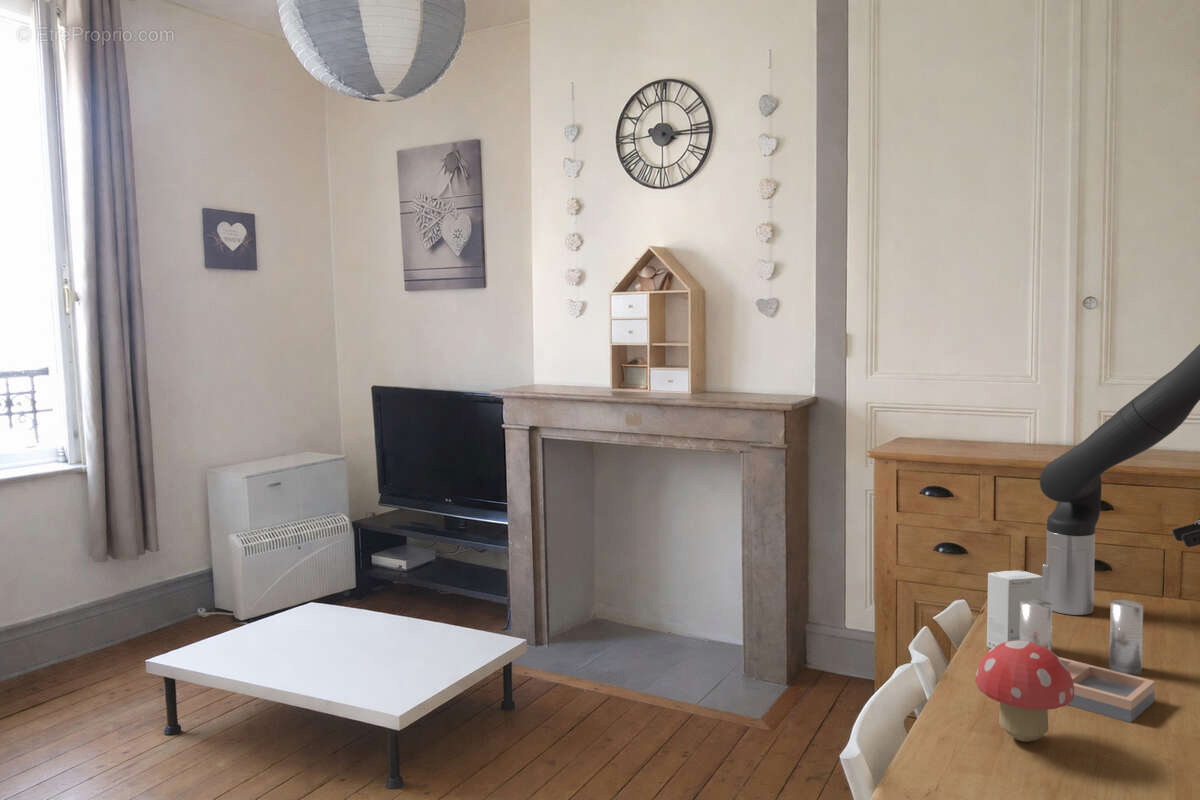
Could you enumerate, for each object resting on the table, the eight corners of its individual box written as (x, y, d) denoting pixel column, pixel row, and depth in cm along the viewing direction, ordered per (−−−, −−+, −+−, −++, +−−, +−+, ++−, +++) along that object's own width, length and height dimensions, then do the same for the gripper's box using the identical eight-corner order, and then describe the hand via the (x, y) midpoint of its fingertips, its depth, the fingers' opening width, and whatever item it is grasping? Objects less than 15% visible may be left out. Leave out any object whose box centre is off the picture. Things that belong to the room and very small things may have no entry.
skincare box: (1007, 657, 164) (1008, 580, 163) (984, 646, 170) (985, 571, 168) (1043, 651, 166) (1044, 575, 165) (1019, 641, 172) (1020, 567, 171)
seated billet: (1014, 670, 153) (1015, 603, 152) (1026, 663, 156) (1027, 597, 155) (1044, 679, 149) (1045, 610, 148) (1055, 670, 152) (1057, 603, 151)
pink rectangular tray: (990, 682, 153) (990, 663, 153) (1018, 665, 160) (1018, 646, 160) (1130, 722, 136) (1131, 701, 136) (1154, 701, 143) (1154, 681, 143)
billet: (1104, 669, 157) (1106, 604, 156) (1115, 661, 161) (1116, 598, 160) (1135, 677, 153) (1137, 610, 153) (1145, 669, 157) (1147, 604, 156)
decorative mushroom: (989, 712, 141) (990, 622, 140) (1082, 735, 132) (1084, 639, 131) (963, 744, 131) (964, 647, 129) (1062, 771, 122) (1064, 667, 121)
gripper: (1263, 486, 153) (1162, 514, 159) (1289, 491, 140) (1177, 521, 146) (1282, 526, 152) (1179, 553, 158) (1310, 536, 139) (1196, 565, 145)
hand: (1179, 538), depth 152 cm, fingers open, 8 cm apart
